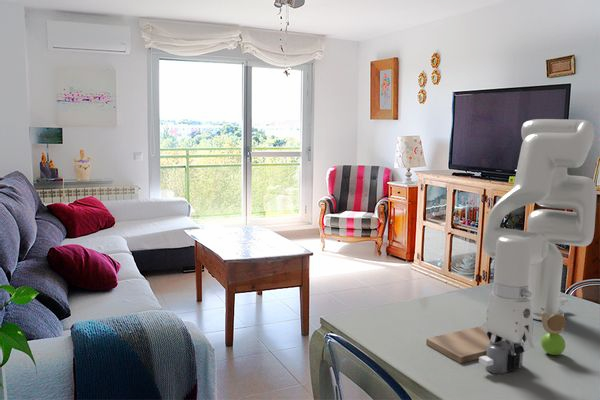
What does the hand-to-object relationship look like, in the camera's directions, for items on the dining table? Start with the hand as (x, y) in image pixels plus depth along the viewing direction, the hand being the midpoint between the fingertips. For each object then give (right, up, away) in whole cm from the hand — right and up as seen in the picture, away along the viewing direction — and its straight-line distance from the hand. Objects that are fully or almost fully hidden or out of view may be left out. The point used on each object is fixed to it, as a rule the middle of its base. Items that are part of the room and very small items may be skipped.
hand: (504, 365), depth 122 cm
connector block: (0, -1, 0) cm, 1 cm away
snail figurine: (+14, 0, +8) cm, 16 cm away
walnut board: (-4, +1, +12) cm, 12 cm away
